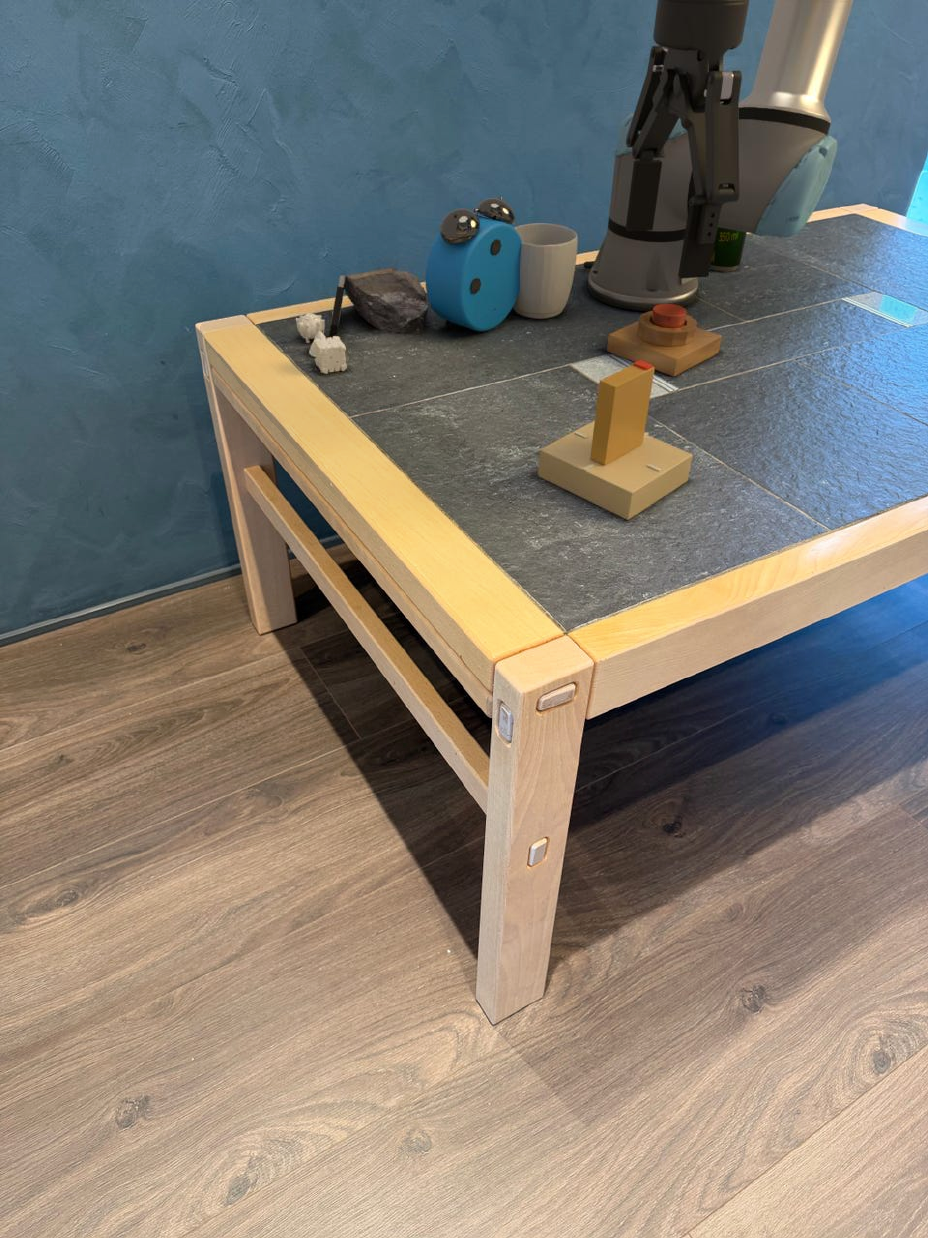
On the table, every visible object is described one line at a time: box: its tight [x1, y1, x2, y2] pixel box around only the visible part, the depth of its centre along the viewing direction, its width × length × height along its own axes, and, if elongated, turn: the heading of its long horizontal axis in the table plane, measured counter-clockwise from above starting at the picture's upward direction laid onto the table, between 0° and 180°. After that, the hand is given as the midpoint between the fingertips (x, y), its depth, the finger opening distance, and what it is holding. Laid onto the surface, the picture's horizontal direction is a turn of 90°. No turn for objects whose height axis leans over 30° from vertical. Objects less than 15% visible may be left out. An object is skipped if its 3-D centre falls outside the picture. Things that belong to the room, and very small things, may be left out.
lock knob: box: [590, 360, 655, 465], centre depth 85 cm, size 6×2×8 cm, turn 135°
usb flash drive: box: [328, 274, 346, 338], centre depth 116 cm, size 9×5×1 cm
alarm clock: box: [425, 196, 522, 332], centre depth 113 cm, size 13×6×15 cm, turn 140°
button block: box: [606, 311, 723, 377], centre depth 112 cm, size 10×10×4 cm
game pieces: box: [295, 312, 348, 375], centre depth 110 cm, size 12×3×3 cm, turn 22°
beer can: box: [710, 227, 748, 273], centre depth 134 cm, size 5×5×12 cm
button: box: [651, 304, 687, 329], centre depth 110 cm, size 4×4×2 cm
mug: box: [512, 222, 579, 320], centre depth 120 cm, size 13×9×10 cm
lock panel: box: [537, 420, 694, 521], centre depth 88 cm, size 11×10×3 cm
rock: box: [343, 267, 430, 336], centre depth 118 cm, size 14×11×5 cm
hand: (664, 251), depth 89 cm, fingers open, 13 cm apart
